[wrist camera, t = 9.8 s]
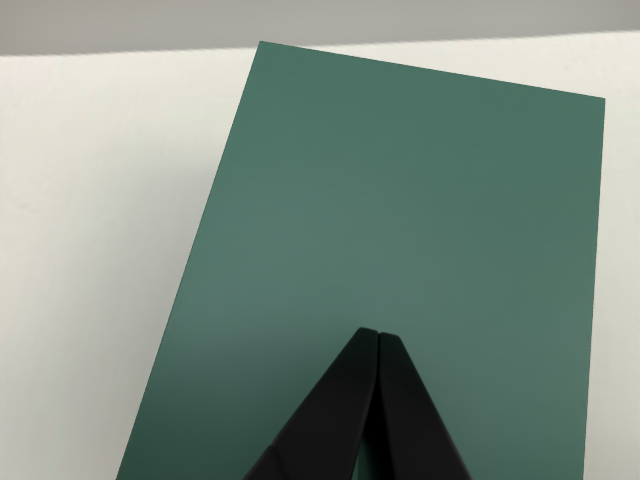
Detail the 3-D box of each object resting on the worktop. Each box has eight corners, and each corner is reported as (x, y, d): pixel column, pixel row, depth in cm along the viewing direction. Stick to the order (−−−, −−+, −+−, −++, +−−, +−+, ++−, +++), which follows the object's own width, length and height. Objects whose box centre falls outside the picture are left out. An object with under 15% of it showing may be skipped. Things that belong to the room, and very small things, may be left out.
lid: (263, 53, 13) (259, 40, 12) (593, 109, 12) (606, 97, 11) (123, 487, 9) (108, 497, 9) (558, 619, 8) (574, 639, 8)
